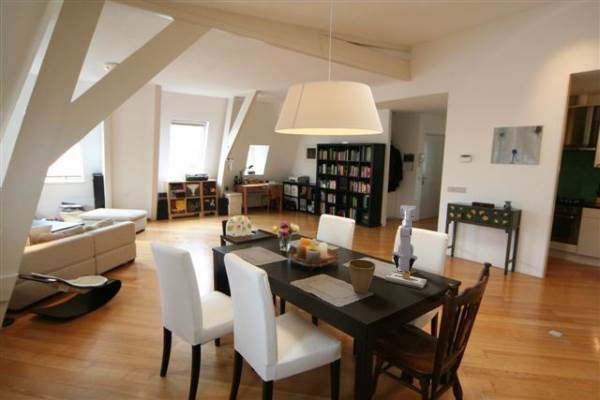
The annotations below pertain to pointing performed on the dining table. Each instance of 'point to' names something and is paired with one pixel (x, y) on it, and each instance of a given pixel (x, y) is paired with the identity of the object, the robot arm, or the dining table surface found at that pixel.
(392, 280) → the dressed cords
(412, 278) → the white slider switch panel
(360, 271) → the plant pot
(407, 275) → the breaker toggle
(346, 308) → the dining table surface
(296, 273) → the dining table surface
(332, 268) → the dining table surface
